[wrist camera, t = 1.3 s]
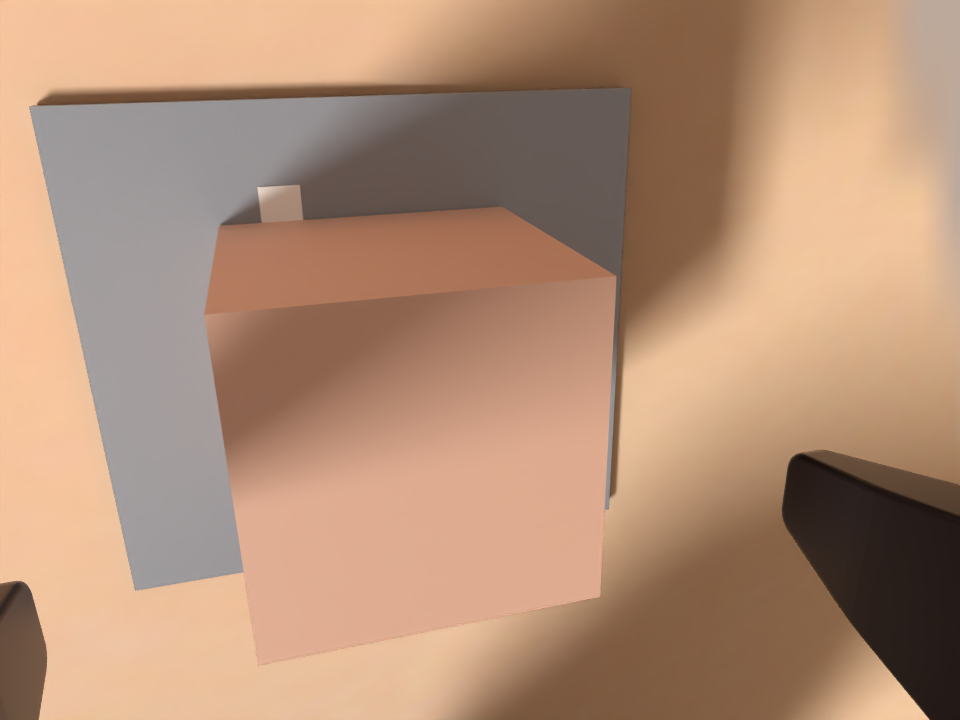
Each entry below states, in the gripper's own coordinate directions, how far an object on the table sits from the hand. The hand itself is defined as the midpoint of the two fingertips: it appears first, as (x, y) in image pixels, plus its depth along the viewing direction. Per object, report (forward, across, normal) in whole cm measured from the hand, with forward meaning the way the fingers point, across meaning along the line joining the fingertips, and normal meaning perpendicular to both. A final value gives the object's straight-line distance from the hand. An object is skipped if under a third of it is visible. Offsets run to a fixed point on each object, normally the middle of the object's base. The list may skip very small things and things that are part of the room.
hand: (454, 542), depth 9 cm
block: (+6, 0, 0) cm, 6 cm away
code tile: (+7, 0, 0) cm, 7 cm away
